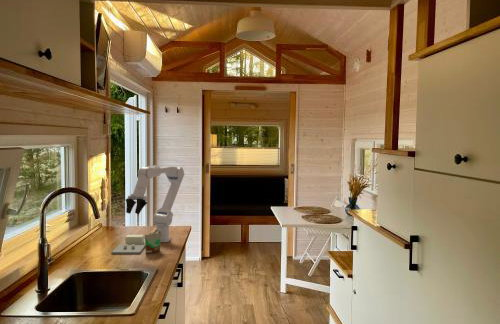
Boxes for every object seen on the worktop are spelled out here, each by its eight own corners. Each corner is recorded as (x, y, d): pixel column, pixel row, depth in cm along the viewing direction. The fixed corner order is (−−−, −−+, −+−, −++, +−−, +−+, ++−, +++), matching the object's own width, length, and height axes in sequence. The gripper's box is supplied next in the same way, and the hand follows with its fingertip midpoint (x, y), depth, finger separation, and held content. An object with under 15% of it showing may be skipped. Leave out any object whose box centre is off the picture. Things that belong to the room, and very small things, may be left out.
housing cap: (127, 242, 208) (127, 234, 207) (144, 242, 208) (144, 234, 208) (125, 245, 203) (125, 237, 202) (142, 245, 203) (142, 237, 203)
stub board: (119, 246, 200) (119, 241, 200) (145, 246, 201) (145, 241, 201) (111, 254, 186) (111, 248, 186) (139, 254, 187) (139, 248, 187)
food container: (155, 255, 185) (155, 235, 185) (144, 254, 186) (144, 235, 186) (166, 248, 197) (166, 230, 197) (155, 247, 199) (155, 229, 198)
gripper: (126, 186, 197) (117, 210, 192) (143, 185, 188) (134, 211, 183) (136, 190, 202) (128, 214, 197) (153, 190, 193) (145, 215, 188)
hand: (132, 213), depth 190 cm, fingers open, 7 cm apart
